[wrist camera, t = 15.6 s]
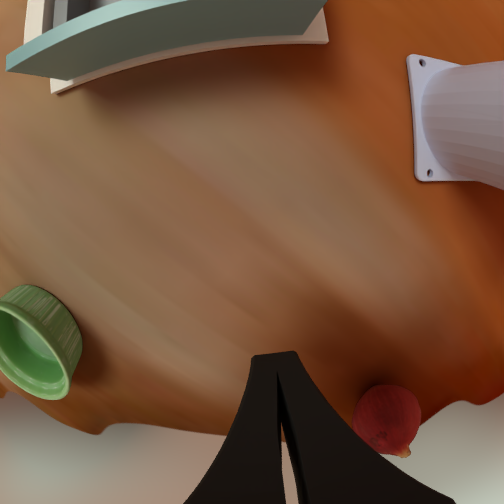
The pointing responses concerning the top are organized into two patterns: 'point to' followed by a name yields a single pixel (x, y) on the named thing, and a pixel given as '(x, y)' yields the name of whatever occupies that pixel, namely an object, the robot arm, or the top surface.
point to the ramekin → (38, 342)
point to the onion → (387, 419)
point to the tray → (149, 30)
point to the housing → (42, 21)
